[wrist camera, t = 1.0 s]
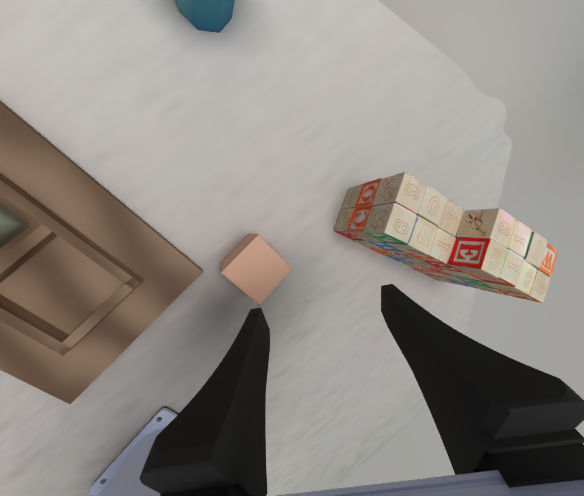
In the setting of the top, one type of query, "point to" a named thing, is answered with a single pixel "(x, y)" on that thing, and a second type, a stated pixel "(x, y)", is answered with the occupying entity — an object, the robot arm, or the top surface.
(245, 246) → the terracotta block
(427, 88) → the top surface
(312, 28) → the top surface
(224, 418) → the robot arm
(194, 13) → the cup
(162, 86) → the top surface
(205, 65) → the top surface
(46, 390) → the walnut base
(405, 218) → the stack of blocks
